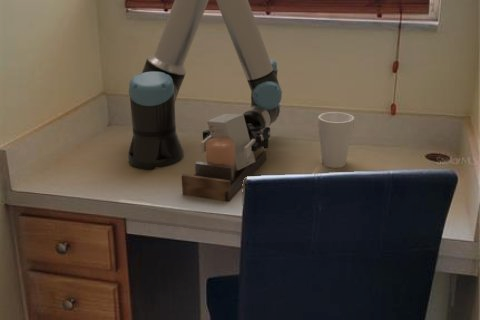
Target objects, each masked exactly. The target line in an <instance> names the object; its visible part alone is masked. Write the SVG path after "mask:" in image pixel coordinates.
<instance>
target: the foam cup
mask: <svg viewBox="0 0 480 320" xmlns="http://www.w3.org/2000/svg"><path fill="white" fill-rule="evenodd" d="M354 123H355V116H353V115H352V114H350V113H347V112H340V111H327V112H323V113H320V114H319V115H318V116H317V127H318V136H319V145H320V154H321V162H322V164H323V165H322V166H325V167H328V168H333V169H334V168H336V169H337V168H338V169H339V168H342V167H344V166H346V163H347V159H348V154H349V148H350V142H351V138H352V134H353V129H354Z"/></svg>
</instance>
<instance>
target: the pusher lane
mask: <svg viewBox="0 0 480 320" xmlns="http://www.w3.org/2000/svg"><path fill="white" fill-rule="evenodd" d="M266 161H267V151H266V149H265V150H262V151H261V152H260V153H259V154H257V156H256V157H255V162H254V163H252V164H250V165H248V166H246V167H244V168H242V169H240V170H238V171H236V180H235V181H234V182H233V183H232V185H231V181H230V180H223V179H216V178H209V177H202V176H196V173H195V174H193V175H192V174H185V173H183V174H181V188H182V191H181V192H182V196H188V197H193V198H200V199H201V198H202V199H207V200H213V201H222V202H226V203H230V202H231V201H232V200H233V199H234V197H235V196H236V195H237V194H238V193H239V192H240V190H242V188H243V187H242V184H243V180H244V178H245V177H247V176H252V177H253V176H254V175H255V173H256V172H257V171H258V170H259V169H260V168H261V166H263V165H264V163H265V162H266Z"/></svg>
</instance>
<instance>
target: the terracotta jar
mask: <svg viewBox="0 0 480 320" xmlns="http://www.w3.org/2000/svg"><path fill="white" fill-rule="evenodd" d="M205 154H206V155H205V156H206V162H207V163H214V164H222V165H230V166H234V181H235V180H236V169H235V144H234V141H233V140H232V139H230V138H227V137H215V138H212V139H209V140H208V141H207V142H206V152H205Z"/></svg>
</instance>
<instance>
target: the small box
mask: <svg viewBox="0 0 480 320" xmlns="http://www.w3.org/2000/svg"><path fill="white" fill-rule="evenodd" d="M243 114H244V113H242V114H241V113H223V114H220V115H219V116H216V117H213V118H212V119H208V120H207V121H206V123H207V125H208V130H210V134H211V138H215V137H227V138H230V139H232V140H233V141H234V144H235V169H236V171H238V170H240V169H242V168H244V167H246V166H248V165H250V164H252V163H254V162H255V158H256V157H255V155H254V154H255V153H254V151H253V152H252V153H251V154H250V155H249V157H248V158H244V147H245V146H246V145H247V144H248V143H249V142H250V138H249V134H248V130H247V126H246V123H245V119H244V115H243Z"/></svg>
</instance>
